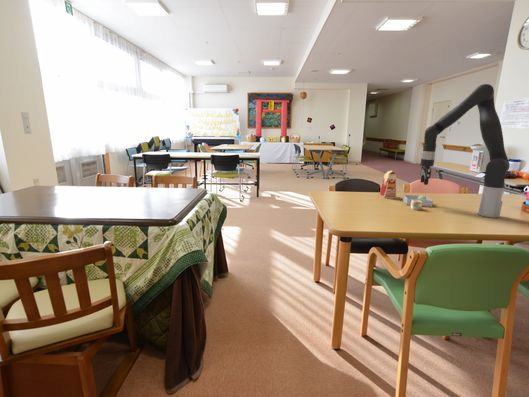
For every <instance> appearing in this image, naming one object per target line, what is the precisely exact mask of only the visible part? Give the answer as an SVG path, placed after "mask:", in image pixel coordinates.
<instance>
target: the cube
mask: <svg viewBox="0 0 529 397" xmlns="http://www.w3.org/2000/svg"><path fill="white" fill-rule="evenodd" d="M409 206H410V209H411V210H413V211H414V210H416V211H422V207H423V206H422V202H421V201H420V200H411V205H409Z"/></svg>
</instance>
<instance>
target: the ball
mask: <svg viewBox="0 0 529 397" xmlns="http://www.w3.org/2000/svg"><path fill="white" fill-rule="evenodd" d="M418 196H419V197H418V200H426V197H425V195H418Z"/></svg>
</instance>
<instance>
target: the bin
mask: <svg viewBox="0 0 529 397" xmlns="http://www.w3.org/2000/svg"><path fill="white" fill-rule="evenodd" d="M419 196H420V195H414V194H402V200H401V201H402V202H403V203H404V204H405V205H406V206H411V200H418V197H419ZM424 196H425V195H424ZM425 197H426V200H420V201H421V202H422V207H428V208H429V207H431V208H433V203H434V200H433V199H431V198H429V197H428V196H427V195H426V196H425Z"/></svg>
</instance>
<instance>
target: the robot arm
mask: <svg viewBox="0 0 529 397" xmlns="http://www.w3.org/2000/svg"><path fill="white" fill-rule="evenodd" d="M475 106H477V109H478V114H479V128H480V134H481V138H482V140H483V143H484V145H485V147H486V149H487V151H488V156H489V161H488V163H487V164H486V167H485V171H484V177H483V182H484V183H483V188H482V193H481V196H480V197H481V198H480V203H479V206H478V210H477V211H478V212H477V214H478V215H479V216H481V217H485V218H493V219H495V218H496V219H497V218H500V216H501V212H502V211H501V210H502V206H503V200H502V199H503V194H504V188H505V185H506V184H505V182H506V181H505V180H506V174H507V173H508V171H509V170H510V167H511V164H510V161H509V158H508V155H507V152H506V150H505V143H504V135H503V129H502V125H501V124H502V123H501V121H500V117H499V115H498V113H497V110H496V107H495V90H494V86H492V85H491V84H488V83H483V84H479V86H477V87H476V88H475V89H474V90H473V91H472V92H471V93H470V94H469V95H468V96H467V97H466V98H465V99H464V100H462V101H461V102H460V103H459V104H458V105H456V106H455V107H454V108H452V109H451V110H450V111H448V112H446V113H445V114H444V115H443V116H442V117H440V118H439V119H438V121H436V122H435V123H433V124H432V125H431V126H428V127H427V128H426V129H425V131H424V136H423V137H424V138H423V140H424V141H423V147H422V152H421V157H420V166H421V167H420V168H421V169H420V183H423V185H424V186H425V185H426V186H427V185H429V181H430V179H431V176H432V168H431V167H434V165H435V160H436V159H435V158H436V149H437V138H438V135H439V134H441V133H443V131H445V130H446V129H448V128H449V127H451V126H452V125H453V124H455V123H456V122H458V121H459V120H460V119H461V118H462V117H463V116H464V115H465V114H467V112H468V111H470V110H472V109H473V108H474V107H475Z"/></svg>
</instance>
